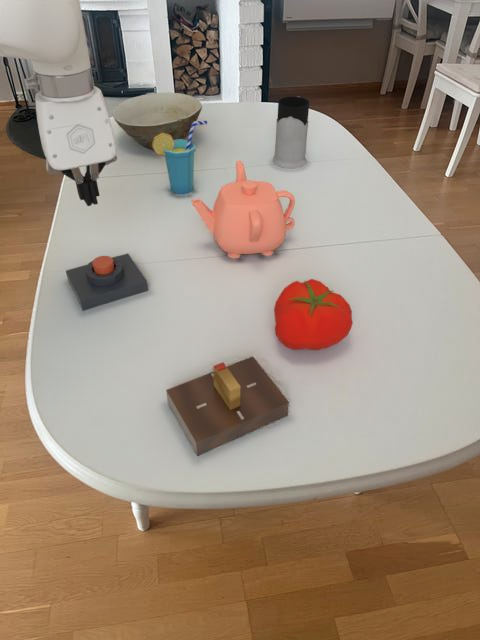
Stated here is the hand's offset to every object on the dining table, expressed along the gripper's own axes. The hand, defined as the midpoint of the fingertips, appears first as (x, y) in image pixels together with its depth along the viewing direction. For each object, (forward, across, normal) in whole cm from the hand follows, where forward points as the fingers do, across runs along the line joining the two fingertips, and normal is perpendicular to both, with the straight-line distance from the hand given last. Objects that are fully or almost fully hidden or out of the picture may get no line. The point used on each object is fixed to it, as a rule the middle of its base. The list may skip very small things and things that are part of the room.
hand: (90, 201), depth 84 cm
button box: (+17, 0, 0) cm, 17 cm away
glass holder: (+17, +60, +31) cm, 70 cm away
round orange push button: (+13, 0, 0) cm, 13 cm away
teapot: (+17, +29, +1) cm, 34 cm away
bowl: (+17, +33, +56) cm, 67 cm away
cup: (+17, +28, +28) cm, 43 cm away
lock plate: (+17, +6, -36) cm, 40 cm away
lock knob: (+14, +6, -36) cm, 39 cm away
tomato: (+17, +25, -29) cm, 42 cm away
